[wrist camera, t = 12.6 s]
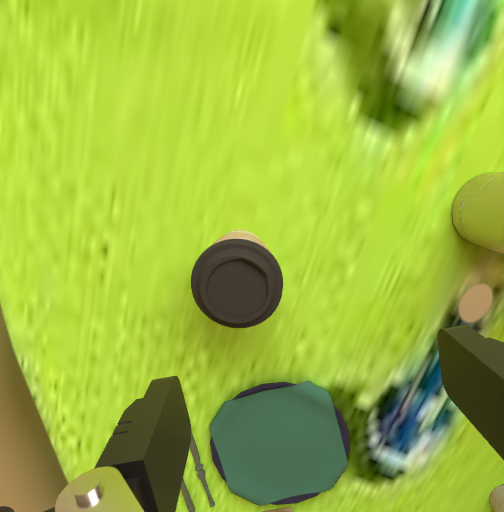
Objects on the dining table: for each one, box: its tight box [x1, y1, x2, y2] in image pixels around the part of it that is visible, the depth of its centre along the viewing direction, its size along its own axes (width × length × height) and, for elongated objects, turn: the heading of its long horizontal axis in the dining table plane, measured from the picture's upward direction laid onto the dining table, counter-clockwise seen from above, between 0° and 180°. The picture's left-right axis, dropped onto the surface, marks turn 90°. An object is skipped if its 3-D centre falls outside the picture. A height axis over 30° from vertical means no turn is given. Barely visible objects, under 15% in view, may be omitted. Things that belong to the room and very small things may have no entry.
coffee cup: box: [191, 230, 283, 328], centre depth 43 cm, size 9×9×15 cm
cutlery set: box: [181, 381, 350, 512], centre depth 56 cm, size 20×30×2 cm, turn 105°
